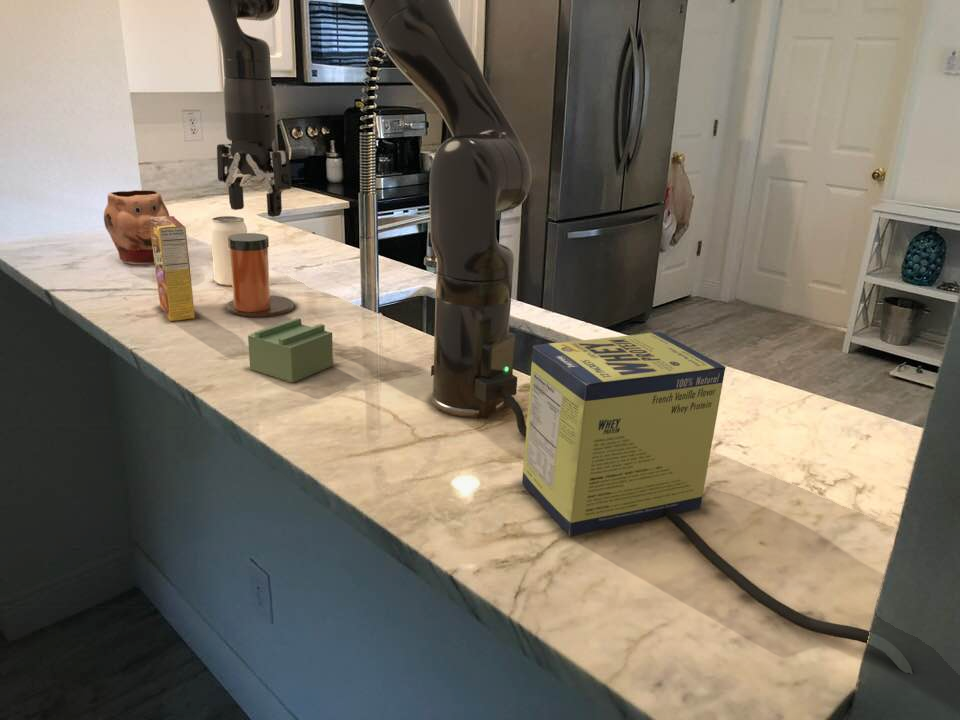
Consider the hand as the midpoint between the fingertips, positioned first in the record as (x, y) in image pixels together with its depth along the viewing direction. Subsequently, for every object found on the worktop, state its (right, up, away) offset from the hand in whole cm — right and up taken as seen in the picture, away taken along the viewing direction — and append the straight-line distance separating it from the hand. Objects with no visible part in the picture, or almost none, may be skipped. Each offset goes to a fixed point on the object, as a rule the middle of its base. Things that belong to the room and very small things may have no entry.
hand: (255, 212), depth 125 cm
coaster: (-1, -15, +6) cm, 16 cm away
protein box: (+50, -38, -48) cm, 79 cm away
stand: (+11, -25, -19) cm, 34 cm away
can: (-10, -10, +20) cm, 24 cm away
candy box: (-13, -17, +1) cm, 21 cm away
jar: (-1, -10, +2) cm, 10 cm away
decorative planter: (-33, -4, +33) cm, 47 cm away
